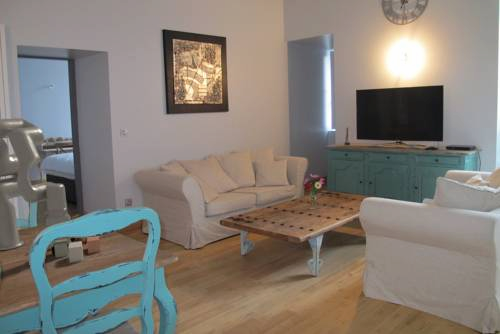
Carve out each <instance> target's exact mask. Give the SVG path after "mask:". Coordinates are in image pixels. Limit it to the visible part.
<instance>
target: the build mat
mask: <svg viewBox="0 0 500 334" xmlns="http://www.w3.org/2000/svg"><path fill="white" fill-rule="evenodd" d="M86 261H87V253H85V254H84V253H83V261H77V262H76V263H81V262H86ZM73 263H75V262H71V263H70V259H69V256H67V260H66V264H73Z"/></svg>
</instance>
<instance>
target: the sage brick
mask: <svg viewBox="0 0 500 334" xmlns="http://www.w3.org/2000/svg"><path fill="white" fill-rule="evenodd" d="M54 248H55V256H54V257H55V258H63V257H69V250H68V241H67V239H64V240H57V241H54Z"/></svg>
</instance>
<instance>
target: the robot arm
mask: <svg viewBox="0 0 500 334" xmlns="http://www.w3.org/2000/svg"><path fill="white" fill-rule="evenodd" d="M5 139H9V143H10V145H11V147H12V149H13V151H14V153H13V154H10V153H9V152H10V151H9V145H8V143H7V142H6V140H5ZM44 142H45V135H44V132H43V131H42V130H41V128H39V127H38V126H37V125H35V124H33V123H32V122H30V121H28V120H26V119H24V118H19V117H18V118H0V178H2V179H0V251H7V250H13V249H16V248H20V247H22V246H23V245H24V241H23V240H21V239H20V236H19V228H18V226H19V225H18V221H17V220H18V219H17V213H16V212H17V211H16V207H15V205H14V204H13V203H12V202H11V201H10V200H11V199H15V198H20V197H22V198H23V200H24V201H25V202H27V203H29V204H36V203H41V202H44V201H46V207H47V210H46V211H44V213H43V215H45V216H47V217H46V222H45V223H46V224H45V225H46V228H47V227H49V226H51V225H54V224H57V223H61V222H65V221H69V220H71V216H70V214H69V213H68V204H67V198H66V188H65V185H64V184H63V183H55V182H53V181H46V182H42V183H36V184H32V183H31V182H30V178H29V172H30V169H31V168H33V167H35V166H36V165H38V164H39V163H40V162H41V156H40V154H39V152H38V150H37V146H41V145H42V144H43V143H44ZM9 176H11V177H9ZM3 177H7V178H3ZM8 177H9V178H8ZM46 228H45V229H46ZM64 239H67V241H68V247H69V243H72V242H74V241H75V239H76V238H72V239H71V238H61V239H57V240H64ZM57 240H55V241H57ZM55 241H54V242H53V243H52V244H51V245H50V248H51V249H50V250H51V255H52V254H53V257H55V248H54V244H55Z"/></svg>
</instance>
